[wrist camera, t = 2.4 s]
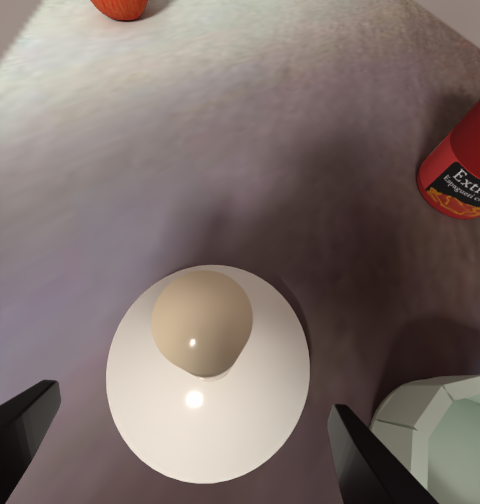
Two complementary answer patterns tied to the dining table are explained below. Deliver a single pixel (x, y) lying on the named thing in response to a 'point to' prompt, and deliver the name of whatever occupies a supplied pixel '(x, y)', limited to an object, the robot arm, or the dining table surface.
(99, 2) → the apple
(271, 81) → the dining table surface
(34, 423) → the robot arm
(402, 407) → the bowl
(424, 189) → the canned food
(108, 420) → the dining table surface
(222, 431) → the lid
